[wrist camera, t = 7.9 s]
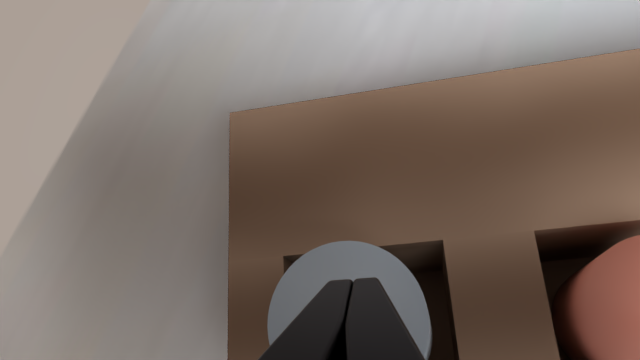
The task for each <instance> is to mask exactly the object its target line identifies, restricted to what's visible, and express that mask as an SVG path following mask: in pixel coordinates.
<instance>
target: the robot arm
mask: <svg viewBox="0 0 640 360" xmlns="http://www.w3.org/2000/svg"><path fill="white" fill-rule="evenodd" d="M257 360H425V358H424V357H423V355H422V353H421V351H420V350H419V348H418V346H417V345H416V343H415V341H414V339H413V338H412V336H411V334H410V332H409V331H408V329H407V327H406V326H405V324H404V322H403V320H402V319H401V317H400V315H399V313H398V312H397V310H396V308H395V307H394V305H393V303H392V301H391V300H390V298H389V296H388V294H387V293H386V291H385V289H384V288H383V286H382V284H381V282H380V281H379V279H378V278H376V277H371V278H358V279H355V280H354V282H353V281H352V280H351V279H342V280H331V281H329V282H327V283H326V284H325V285H324V287H323V288H322V289H321V290H320V291H319V292H318V293H317V294H316V295H315V297H314V298H313V299H312V300H311V301H310V302H309V303H308V304H307V305H306V306H305V308H304V309H303V310H302V311H301V312H300V313H299V314H298V315H297V316H296V317H295V319H294V320H293V321H292V322H291V323H290V324H289V325H288V326H287V327H286V329H285V330H284V331H283V332H282V333H281V334H280V335H279V336H278V337H277V338H276V340H275V341H274V342H273V343H272V344H271V345H270V346H269V347H268V348H267V350H266V351H265V352H264V353H263V354H262V355H261V356H260V357H259V358H258V359H257Z"/></svg>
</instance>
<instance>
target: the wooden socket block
mask: <svg viewBox="0 0 640 360" xmlns="http://www.w3.org/2000/svg"><path fill="white" fill-rule="evenodd" d="M637 235H640V49H634V50H628V51H622V52H615V53H609V54H602V55H596V56H590V57H583V58H577V59H570V60H564V61H558V62H551V63H545V64H539V65H532V66H526V67H519V68H513V69H507V70H500V71H494V72H487V73H481V74H475V75H468V76H462V77H455V78H449V79H443V80H436V81H430V82H424V83H417V84H411V85H404V86H398V87H392V88H385V89H379V90H372V91H366V92H360V93H353V94H347V95H340V96H334V97H328V98H321V99H315V100H309V101H302V102H296V103H289V104H283V105H277V106H270V107H264V108H257V109H251V110H245V111H238V112H232V113H230V140H229V257H228V360H257V359H258V358H259V357H260V356H261V355H262V354H263V353H264V352H265V351H266V350H267V348H268V347H269V346H270V344H269V339H268V328H267V325H268V312H269V306H270V303H271V299H272V296H273V293H274V291H275V289H276V286H277V284H278V283H279V281H280V279H281V278H282V276H283V275H284V273H285V272H286V271H287V270H288V268H289V267H290V266H291V265H292V264H293V263H294V262H295V261H296V260H298V259H299V258H300V257H301V256H303V255H304V254H306V253H307V252H309V251H311V250H312V249H315V248H317V247H319V246H321V245H325V244H328V243H332V242H338V241H359V242H364V243H368V244H372V245H375V246H377V247H380V248H382V249H384V250H386V251H388V252H389V253H391V254H392V255H394V256H395V257H396V258H398V259H399V260H400V261H401V262H402V263H403V264H404V265H405V266H406V267H407V268H408V269H409V270H410V272H411V273H412V274H413V276H414V277H415V279H416V280H417V282H418V284H419V286H420V288H421V290H422V292H423V295H424V298H425V301H426V304H427V308H428V313H429V317H430V321H431V326H432V337H433V338H432V348H431V353H430V356H429V359H428V360H571V359H570V358H569V357H568V356H567V355H566V353H565V352H564V350H563V349H562V348H561V346H560V344H559V342H558V340H557V338H556V335H555V332H554V327H553V322H552V306H553V302H554V298H555V296H556V294H557V291H558V290H559V288H560V287H561V285H562V284H563V283H564V282H565V281H566V280H567V279H568V278H569V277H570V276H572V275H573V274H574V273H576V272H577V271H579V270H580V269H581V268H583V267H584V266H586V265H587V264H588V263H590V262H591V261H593V260H594V259H595V258H597V257H598V256H600V255H601V254H602V253H604V252H605V251H607V250H608V249H609V248H611V247H612V246H614V245H615V244H617V243H619V242H621V241H623V240H625V239H627V238H630V237H634V236H637Z"/></svg>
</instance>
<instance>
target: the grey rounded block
mask: <svg viewBox="0 0 640 360" xmlns="http://www.w3.org/2000/svg"><path fill="white" fill-rule="evenodd" d="M371 277H376V278H378V279H379V281H380V282H381V284H382V286H383V288H384V289H385V291H386V293H387V294H388V296H389V298H390V300H391V301H392V303H393V305H394V307H395V308H396V310H397V312H398V313H399V315H400V317H401V319H402V320H403V322H404V324H405V326H406V327H407V329H408V331H409V332H410V334H411V336H412V338H413V339H414V341H415V343H416V345H417V346H418V348H419V350H420V351H421V353H422V355H423V357H424V358H425V360H428V359H429V356H430V353H431V348H432V338H433V337H432V326H431V321H430V317H429V313H428V308H427V304H426V301H425V298H424V295H423V292H422V290H421V288H420V286H419V284H418V282H417V280H416V279H415V277H414V276H413V274H412V273H411V272H410V270H409V269H408V268H407V267H406V266H405V265H404V264H403V263H402V262H401V261H400V260H399V259H398V258H396V257H395V256H394V255H392V254H391V253H389V252H388V251H386V250H384V249H382V248H380V247H377V246H375V245H372V244H368V243H364V242H359V241H338V242H332V243H328V244H325V245H321V246H319V247H317V248H315V249H312V250H311V251H309V252H307V253H306V254H304V255H303V256H301V257H300V258H299V259H298V260H296V261H295V262H294V263H293V264H292V265H291V266H290V267H289V268H288V270H287V271H286V272H285V273H284V275H283V276H282V278H281V279H280V281H279V283H278V284H277V286H276V289H275V291H274V293H273V296H272V299H271V303H270V306H269V312H268V325H267V328H268V339H269V344H270V345H271V344H272V343H273V342H274V341H275V340H276V338H277V337H278V336H279V335H280V334H281V333H282V332H283V331H284V330H285V329H286V327H287V326H288V325H289V324H290V323H291V322H292V321H293V320H294V319H295V317H296V316H297V315H298V314H299V313H300V312H301V311H302V310H303V309H304V308H305V306H306V305H307V304H308V303H309V302H310V301H311V300H312V299H313V298H314V297H315V295H316V294H317V293H318V292H319V291H320V290H321V289H322V288H323V287H324V285H325V284H326V283H327V282H329V281H331V280H342V279H351V280H352V281H353V282H354V280H355V279H358V278H371Z"/></svg>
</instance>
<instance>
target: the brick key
mask: <svg viewBox="0 0 640 360" xmlns="http://www.w3.org/2000/svg"><path fill="white" fill-rule="evenodd" d="M552 322H553V327H554V332H555V335H556V338H557V340H558V342H559V344H560V346H561V348H562V349H563V350H564V352H565V353H566V355H567V356H568V357H569V358H570V359H571V360H640V235H637V236H634V237H630V238H627V239H625V240H623V241H621V242H619V243H617V244H615V245H614V246H612V247H611V248H609V249H608V250H607V251H605V252H604V253H602V254H601V255H600V256H598V257H597V258H595V259H594V260H593V261H591V262H590V263H588V264H587V265H586V266H584V267H583V268H581V269H580V270H579V271H577V272H576V273H574V274H573V275H572V276H570V277H569V278H568V279H567V280H566V281H565V282H564V283H563V284H562V285H561V287H560V288H559V290H558V291H557V294H556V296H555V298H554V302H553V306H552Z"/></svg>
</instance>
